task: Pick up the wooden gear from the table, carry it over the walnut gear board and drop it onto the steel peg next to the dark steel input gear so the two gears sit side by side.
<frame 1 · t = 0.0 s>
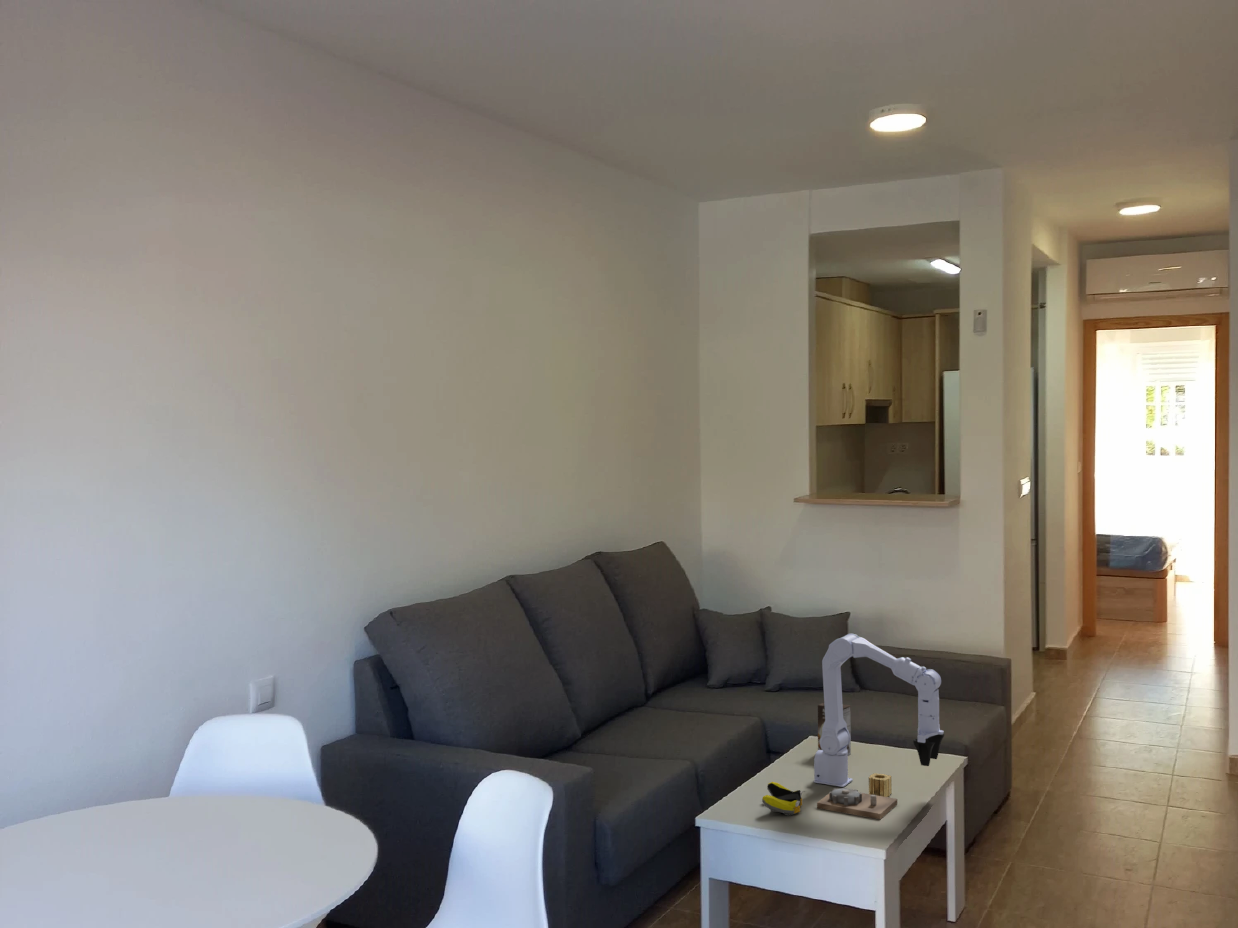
hand: (929, 761, 305), 10 cm above the table, tool pointing down, fingers open, 7 cm apart
wooden gear: (880, 793, 309), on the table
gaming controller: (783, 809, 298), on the table
coffee box: (834, 754, 349), on the table
gear board: (857, 805, 299), on the table
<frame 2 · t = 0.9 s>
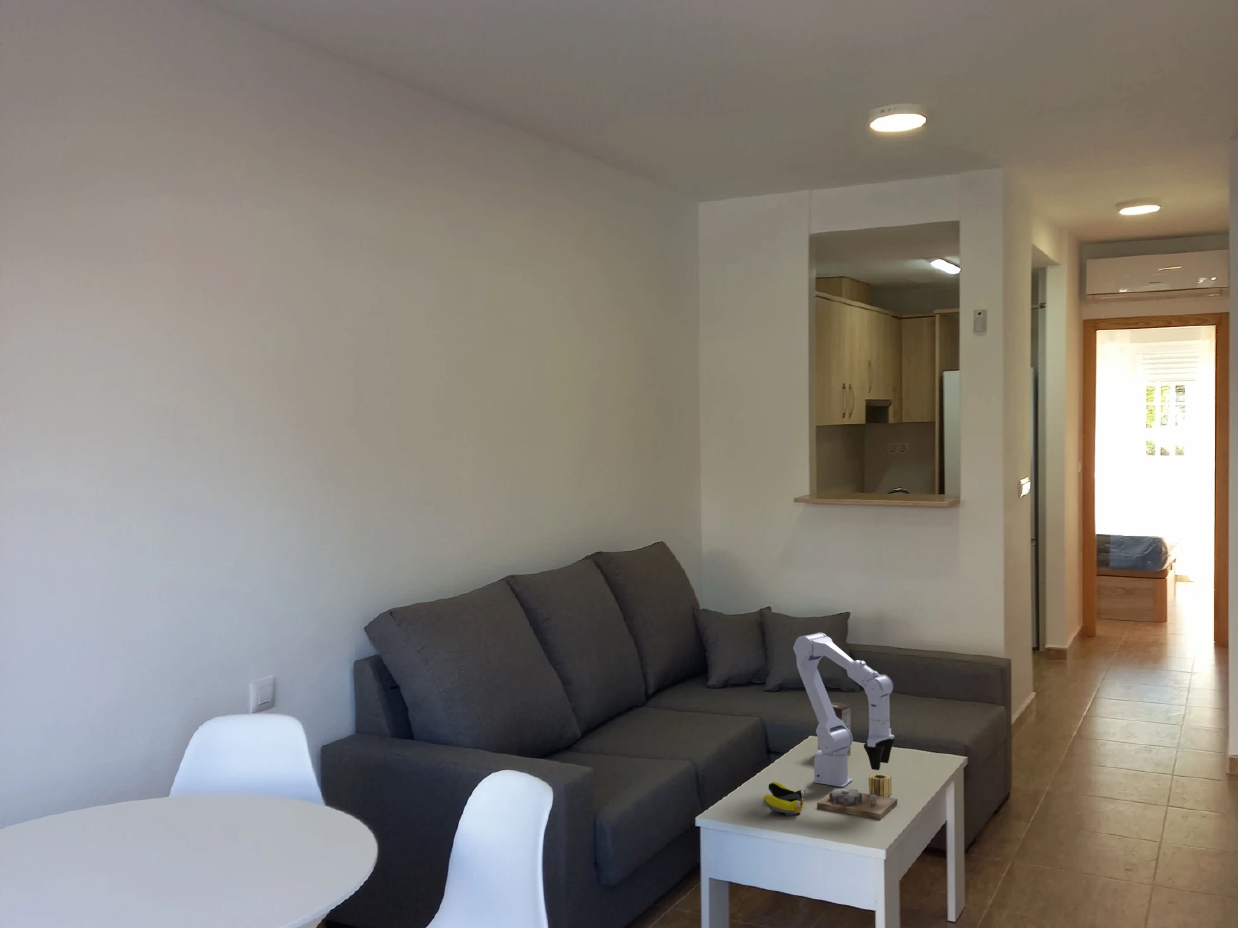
hand: (880, 765, 309), 8 cm above the table, tool pointing down, fingers open, 7 cm apart
nothing on the table moved.
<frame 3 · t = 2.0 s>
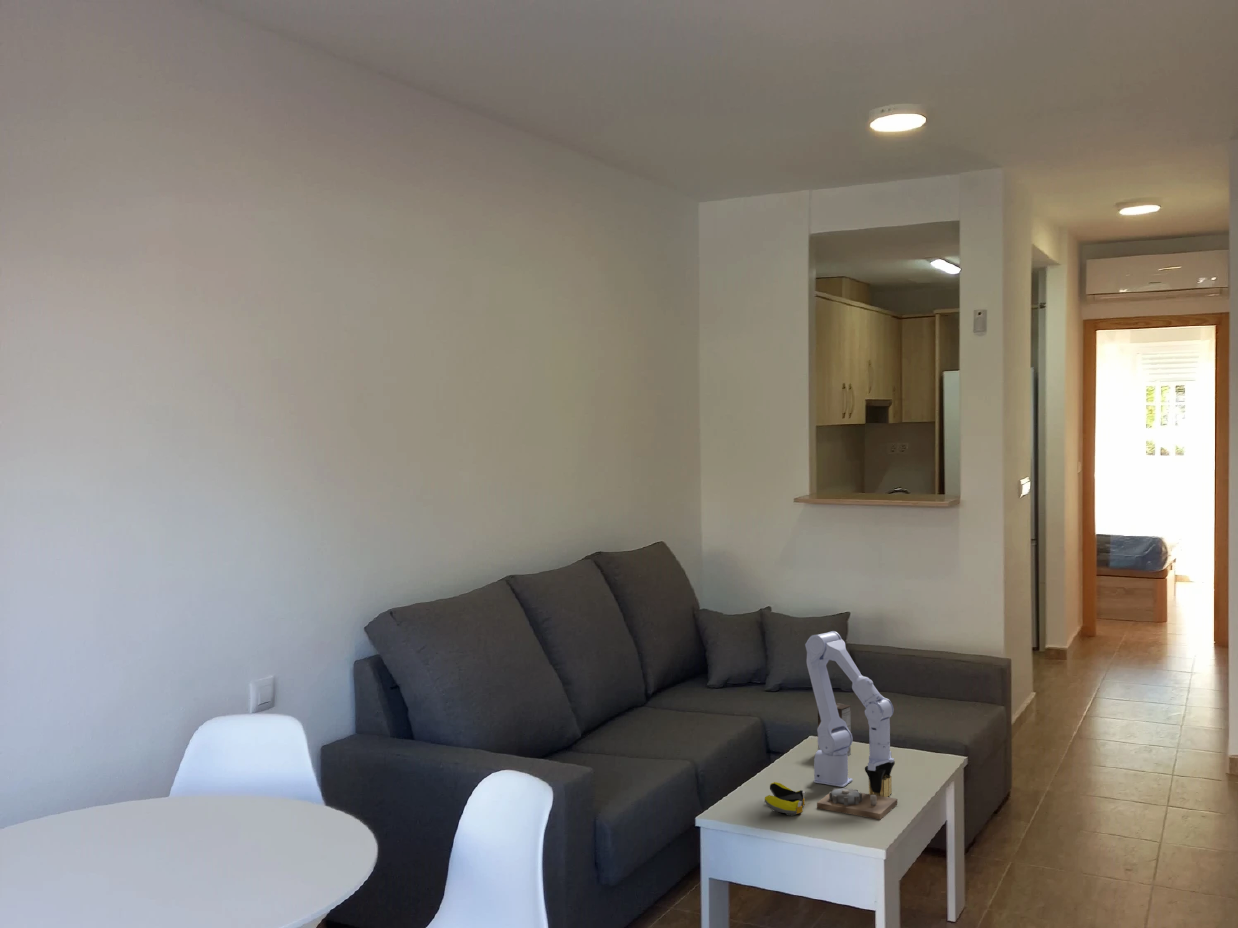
hand: (880, 789, 309), 1 cm above the table, tool pointing down, fingers closed on wooden gear, 6 cm apart
wooden gear: (880, 793, 309), on the table, touching gripper
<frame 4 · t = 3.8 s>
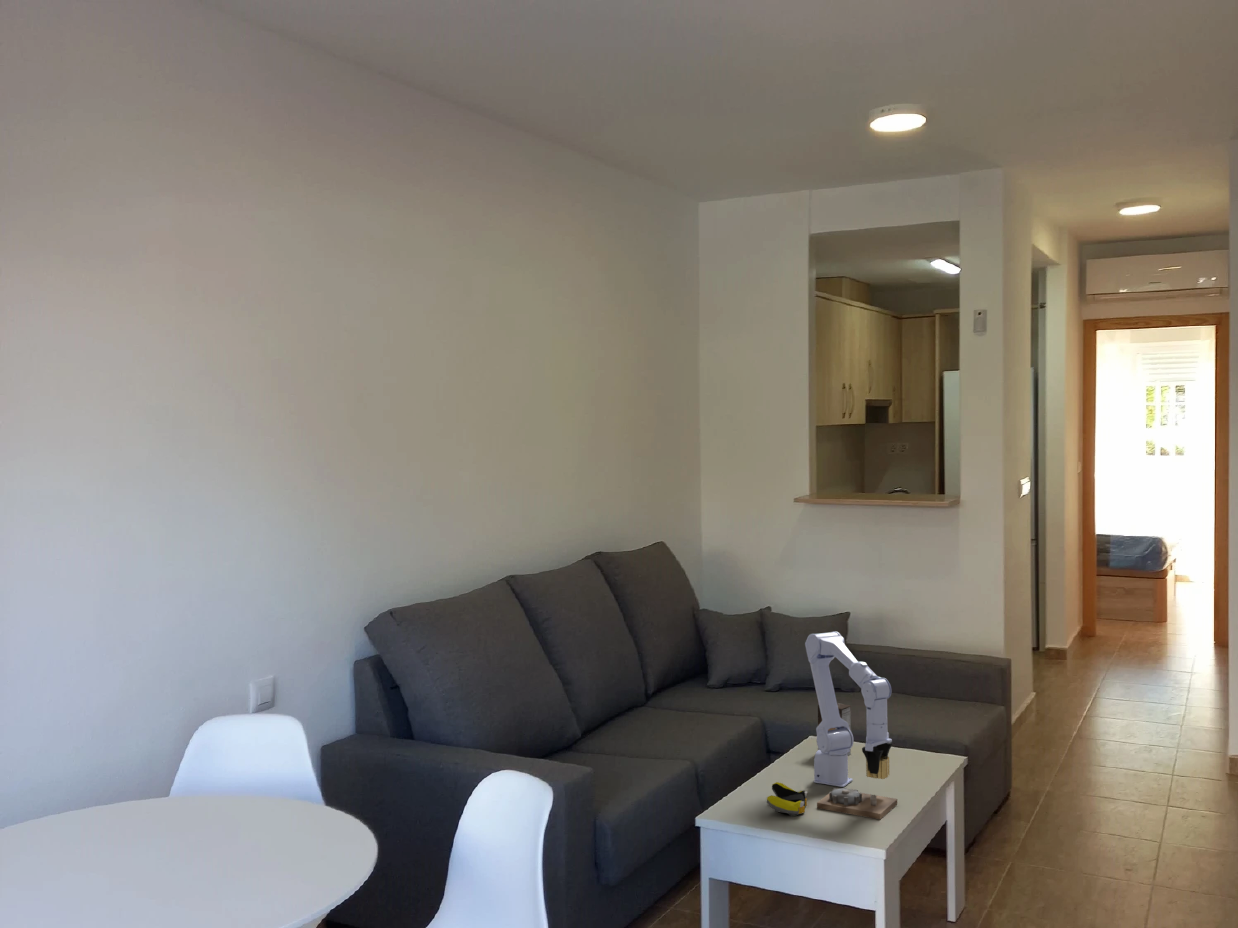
hand: (877, 770, 303), 8 cm above the table, tool pointing down, fingers closed on wooden gear, 6 cm apart
wooden gear: (877, 775, 303), point 7 cm above the table, touching gripper
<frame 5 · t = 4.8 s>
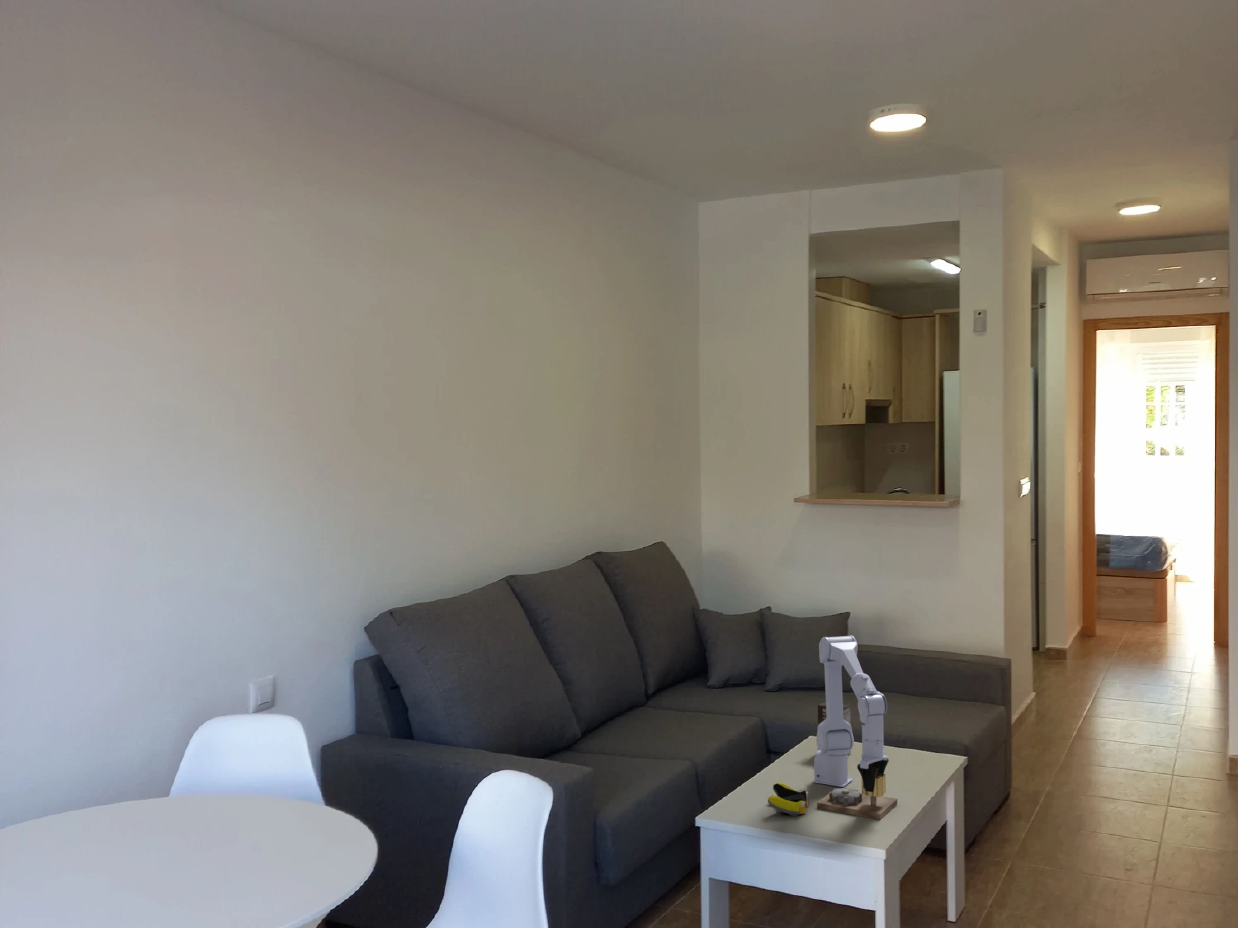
hand: (873, 788, 296), 6 cm above the table, tool pointing down, fingers closed on wooden gear, 6 cm apart
wooden gear: (873, 793, 296), point 5 cm above the table, touching gripper
when the fingers open (4 cm above the table, at t = 5.8 s): wooden gear stays where it is, resting on gear board.
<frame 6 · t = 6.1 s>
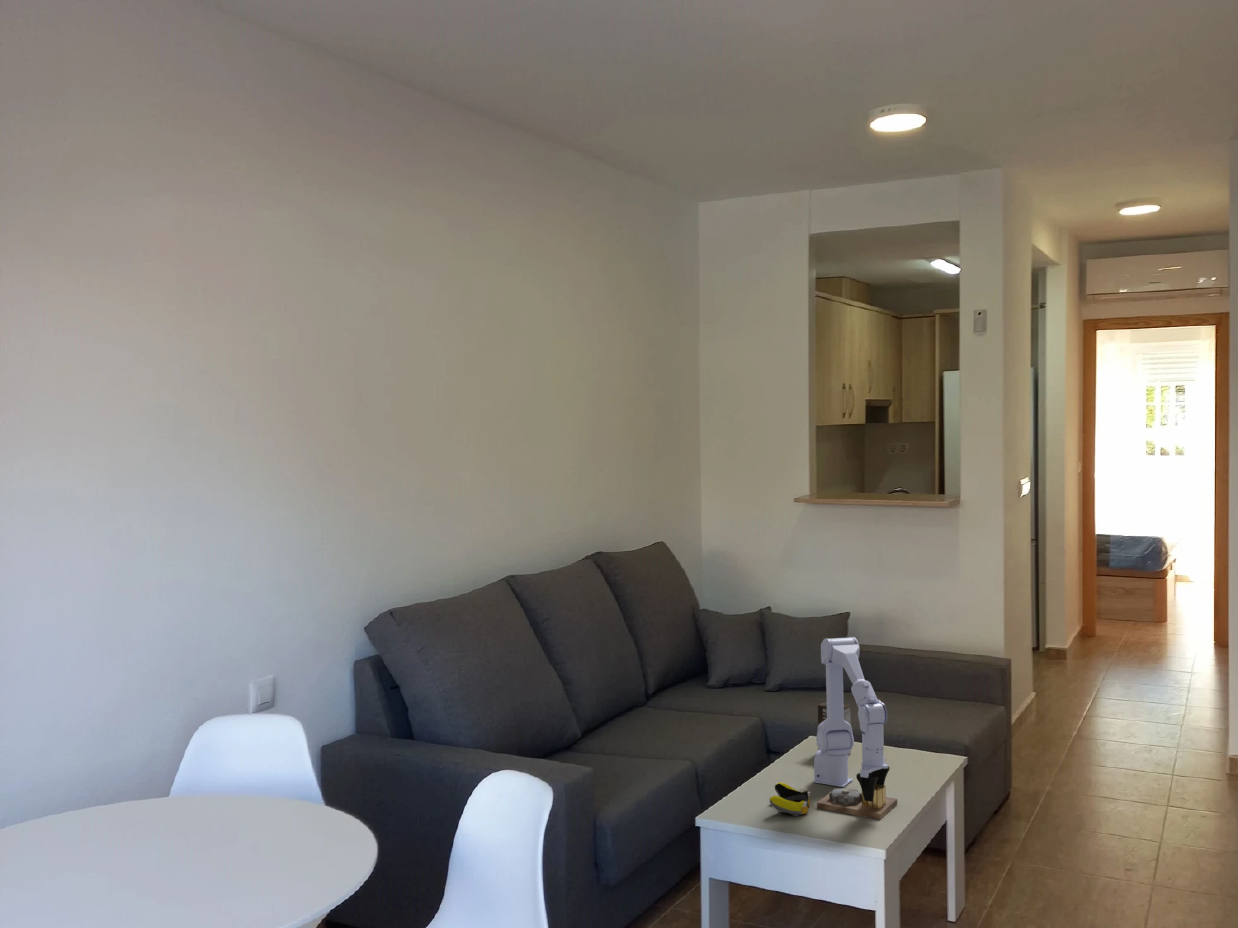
hand: (873, 796, 296), 4 cm above the table, tool pointing down, fingers open, 7 cm apart
wooden gear: (873, 804, 296), point 1 cm above the table, touching gear board
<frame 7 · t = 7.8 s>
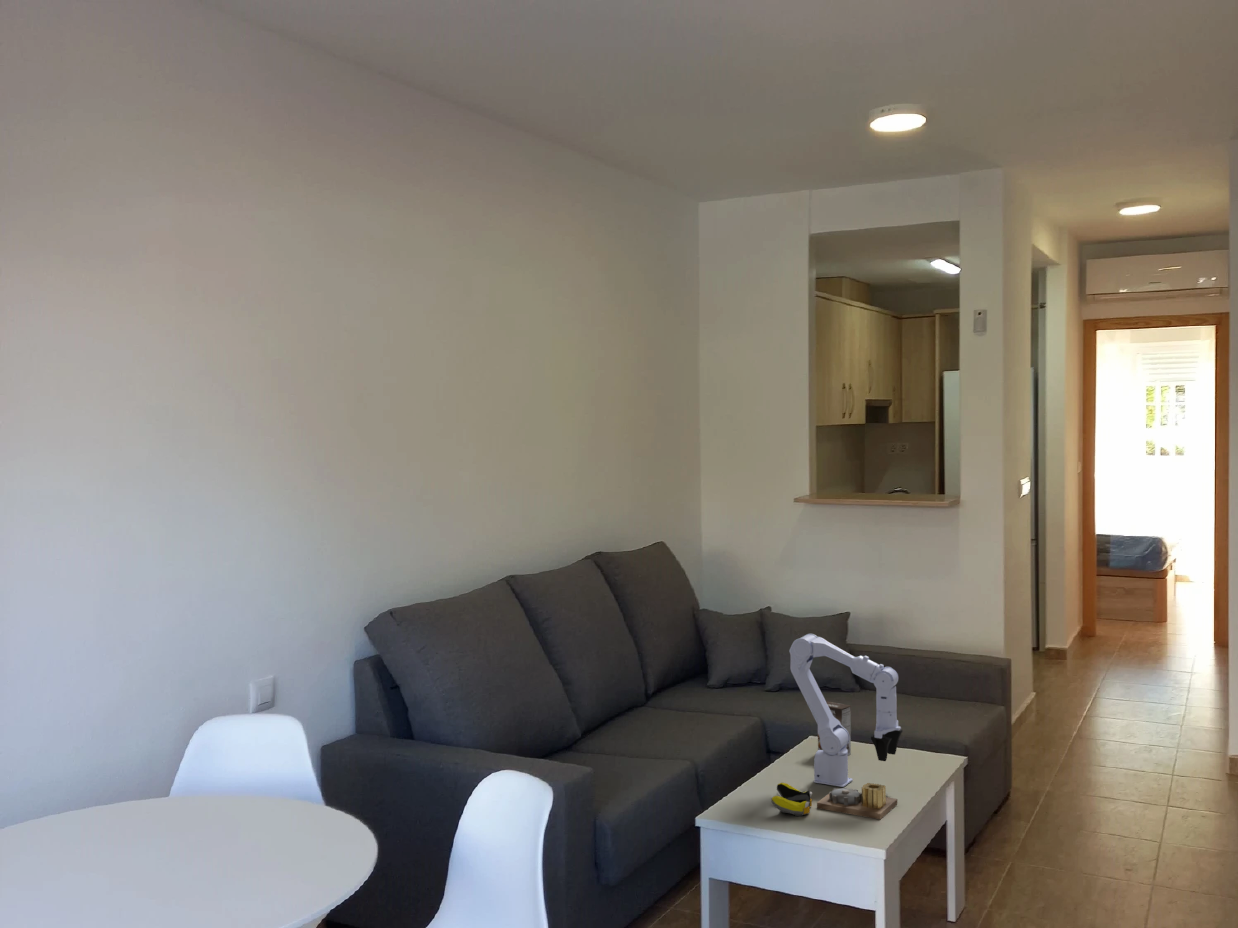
hand: (886, 757, 313), 9 cm above the table, tool pointing down, fingers open, 7 cm apart
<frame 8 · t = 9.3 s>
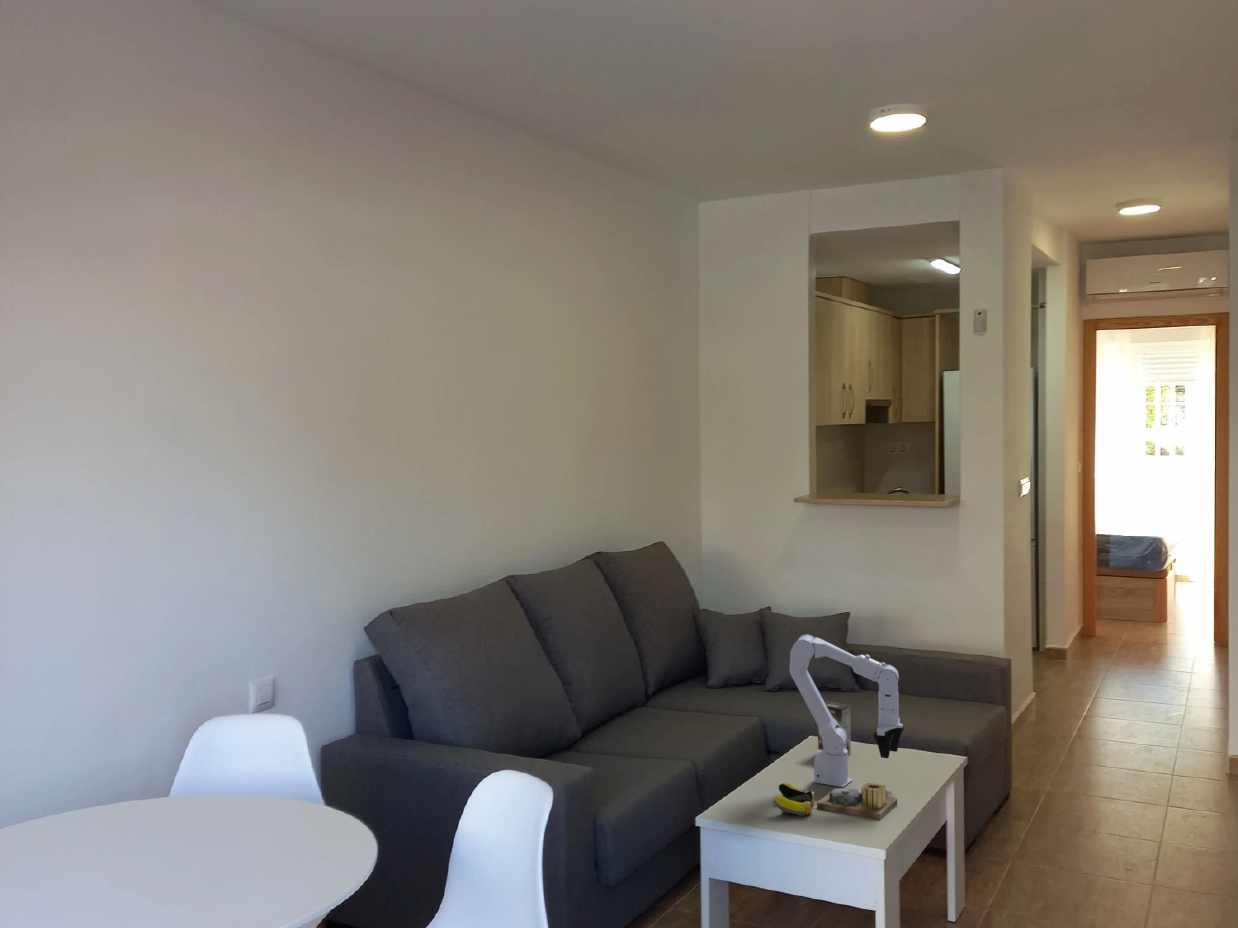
hand: (889, 754, 316), 9 cm above the table, tool pointing down, fingers open, 7 cm apart
at the end: wooden gear 0.1 cm from the target spot on the gear board, point 1.5 cm above the gear board's base; wooden gear tilted 0°; the gripper is holding nothing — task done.
